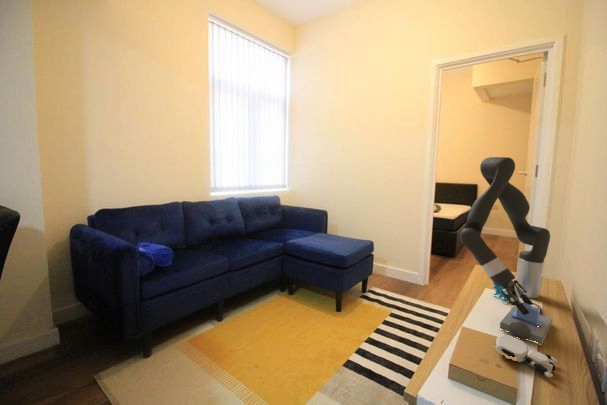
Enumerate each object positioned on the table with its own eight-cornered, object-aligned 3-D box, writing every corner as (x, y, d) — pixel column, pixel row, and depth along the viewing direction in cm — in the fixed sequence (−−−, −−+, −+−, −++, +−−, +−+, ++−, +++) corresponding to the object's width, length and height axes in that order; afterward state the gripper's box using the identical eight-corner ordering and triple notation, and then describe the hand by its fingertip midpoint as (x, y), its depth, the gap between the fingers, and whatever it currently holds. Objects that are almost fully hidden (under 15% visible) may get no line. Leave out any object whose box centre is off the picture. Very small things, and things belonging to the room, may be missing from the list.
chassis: (498, 330, 104) (500, 315, 103) (514, 310, 119) (516, 297, 118) (539, 347, 95) (542, 331, 94) (551, 323, 110) (554, 309, 109)
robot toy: (556, 367, 87) (499, 340, 98) (560, 354, 86) (502, 328, 97) (549, 387, 79) (488, 355, 89) (554, 373, 78) (492, 343, 88)
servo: (510, 322, 109) (513, 301, 108) (512, 319, 111) (516, 298, 110) (540, 333, 102) (543, 310, 101) (542, 329, 105) (545, 307, 104)
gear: (504, 301, 123) (491, 280, 129) (492, 306, 127) (481, 285, 133) (519, 301, 128) (506, 280, 134) (507, 305, 132) (495, 285, 138)
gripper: (501, 271, 106) (535, 312, 99) (511, 263, 115) (543, 300, 108) (483, 280, 110) (514, 320, 103) (494, 271, 120) (524, 308, 113)
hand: (529, 310), depth 106 cm, fingers open, 8 cm apart
